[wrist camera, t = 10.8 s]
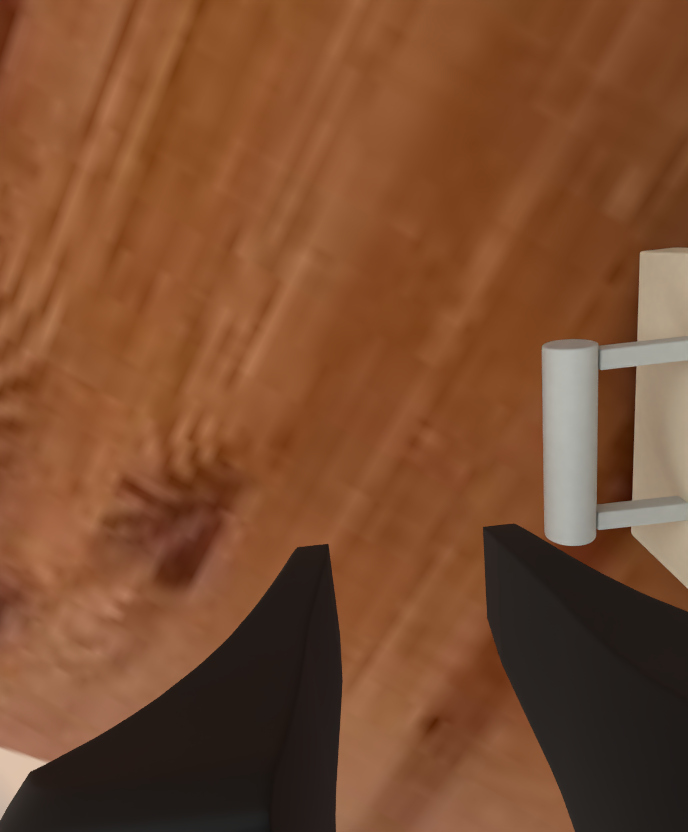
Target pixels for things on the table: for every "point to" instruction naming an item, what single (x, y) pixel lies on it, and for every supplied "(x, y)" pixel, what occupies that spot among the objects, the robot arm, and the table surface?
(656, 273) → the drawer
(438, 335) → the table surface
